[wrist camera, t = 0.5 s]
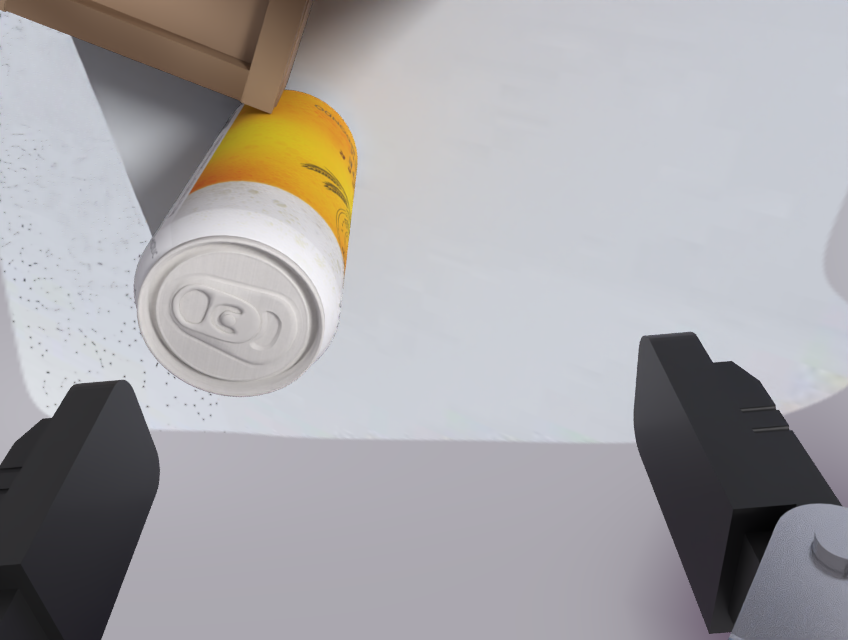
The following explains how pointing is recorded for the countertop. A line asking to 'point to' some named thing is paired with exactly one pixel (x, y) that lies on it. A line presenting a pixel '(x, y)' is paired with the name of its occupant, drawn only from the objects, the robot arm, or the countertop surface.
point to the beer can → (253, 252)
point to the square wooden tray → (190, 38)
